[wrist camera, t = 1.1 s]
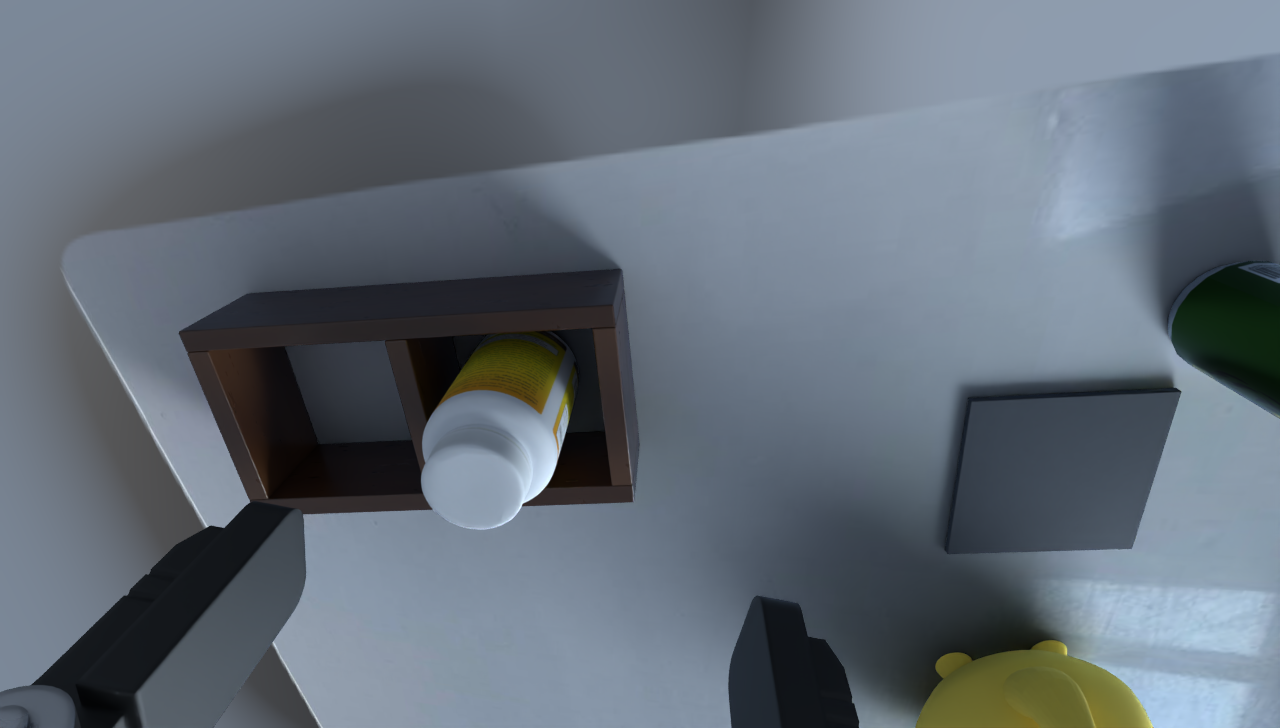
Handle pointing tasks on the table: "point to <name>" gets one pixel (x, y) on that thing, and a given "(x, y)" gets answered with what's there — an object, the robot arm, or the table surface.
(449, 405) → the supplement bottle
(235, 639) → the robot arm
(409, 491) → the bottle rack
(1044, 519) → the coaster
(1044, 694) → the teapot
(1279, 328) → the beer can
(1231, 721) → the table surface
